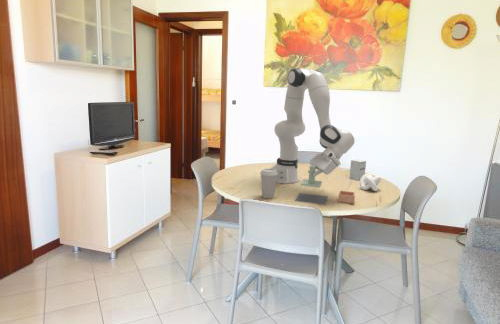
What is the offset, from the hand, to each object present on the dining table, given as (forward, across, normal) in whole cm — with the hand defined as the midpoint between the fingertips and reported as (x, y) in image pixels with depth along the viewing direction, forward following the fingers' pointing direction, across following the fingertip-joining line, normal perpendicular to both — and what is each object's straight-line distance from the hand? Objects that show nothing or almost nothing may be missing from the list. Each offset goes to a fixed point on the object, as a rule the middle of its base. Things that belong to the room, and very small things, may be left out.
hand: (311, 174), depth 189 cm
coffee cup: (+25, -6, -5) cm, 26 cm away
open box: (-4, +7, +22) cm, 24 cm away
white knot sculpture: (-21, -13, +40) cm, 48 cm away
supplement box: (-26, -39, +46) cm, 65 cm away
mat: (+9, +1, +10) cm, 14 cm away
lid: (+3, 0, +4) cm, 5 cm away
